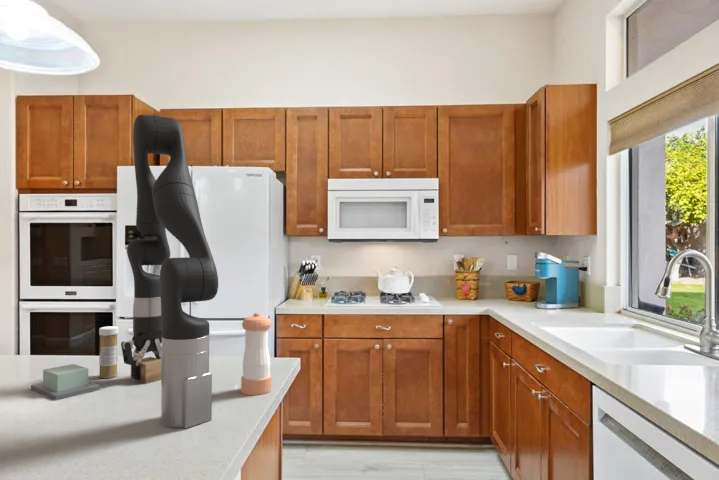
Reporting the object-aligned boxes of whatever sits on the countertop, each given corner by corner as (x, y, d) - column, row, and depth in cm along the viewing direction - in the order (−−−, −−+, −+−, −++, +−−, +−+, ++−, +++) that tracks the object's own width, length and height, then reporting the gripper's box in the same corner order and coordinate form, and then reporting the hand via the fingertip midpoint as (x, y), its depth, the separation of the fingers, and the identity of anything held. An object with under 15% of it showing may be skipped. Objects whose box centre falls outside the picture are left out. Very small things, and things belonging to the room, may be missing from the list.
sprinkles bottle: (103, 374, 132) (103, 325, 132) (120, 374, 132) (120, 325, 132) (95, 379, 127) (96, 328, 127) (113, 378, 128) (114, 328, 128)
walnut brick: (165, 378, 128) (165, 360, 128) (145, 383, 123) (145, 364, 123) (150, 374, 132) (150, 356, 132) (130, 379, 127) (130, 360, 127)
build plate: (100, 389, 118) (100, 369, 118) (56, 400, 110) (56, 378, 110) (74, 380, 126) (74, 361, 126) (30, 389, 118) (31, 369, 118)
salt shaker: (277, 390, 118) (277, 312, 118) (252, 397, 112) (252, 315, 113) (260, 384, 123) (260, 309, 123) (235, 390, 117) (235, 312, 118)
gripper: (129, 318, 120) (129, 385, 119) (180, 311, 131) (180, 373, 131) (114, 315, 124) (114, 380, 124) (164, 309, 136) (164, 369, 135)
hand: (148, 376), depth 127 cm, fingers closed on walnut brick, 5 cm apart
